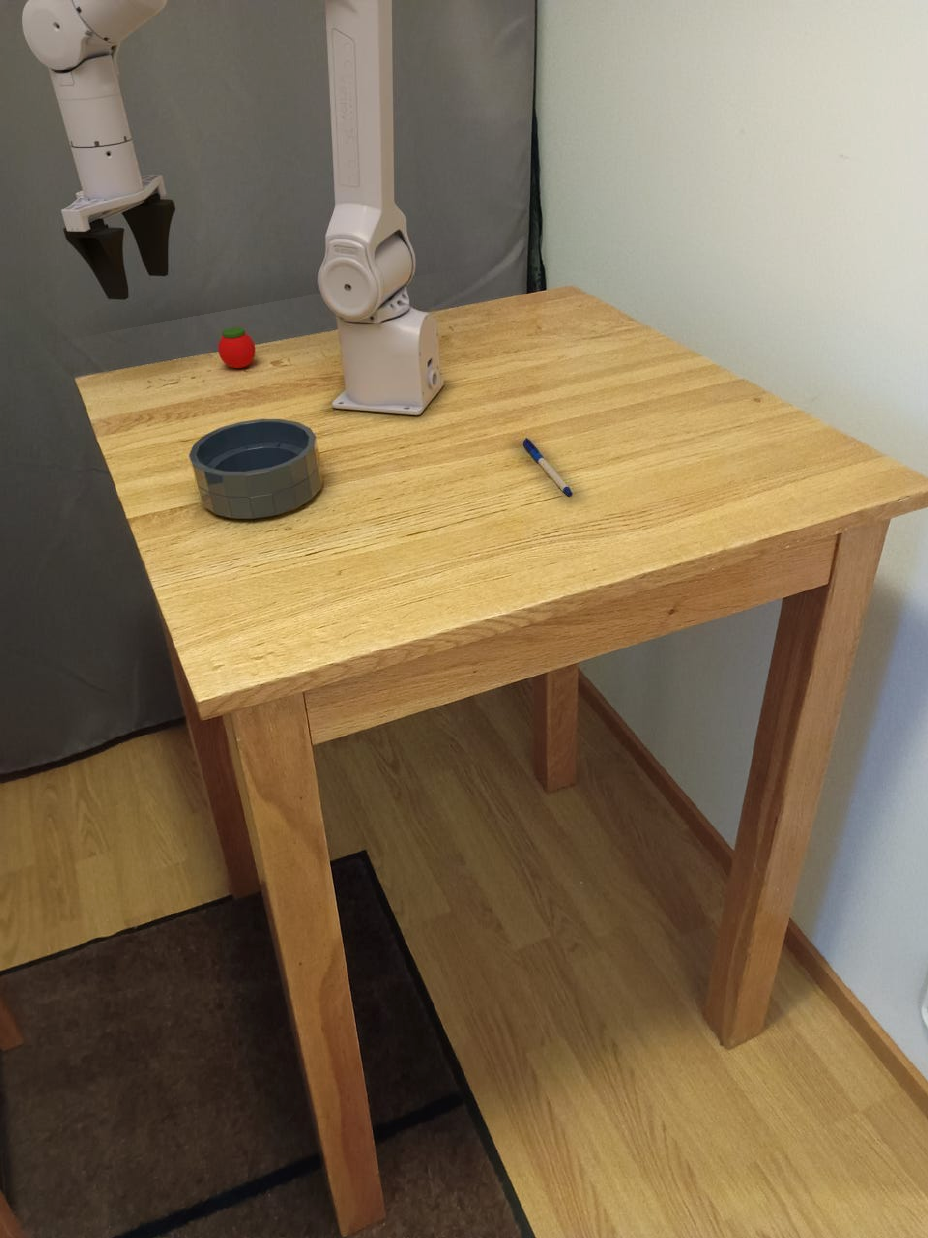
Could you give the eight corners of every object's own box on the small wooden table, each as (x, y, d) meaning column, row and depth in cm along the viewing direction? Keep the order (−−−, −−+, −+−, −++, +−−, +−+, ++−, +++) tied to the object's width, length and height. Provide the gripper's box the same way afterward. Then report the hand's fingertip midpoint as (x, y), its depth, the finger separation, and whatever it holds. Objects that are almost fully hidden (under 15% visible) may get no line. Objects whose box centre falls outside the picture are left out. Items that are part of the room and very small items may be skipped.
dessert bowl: (342, 469, 82) (335, 423, 80) (291, 530, 75) (281, 481, 72) (238, 459, 85) (228, 414, 83) (178, 517, 77) (165, 468, 75)
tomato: (264, 361, 105) (257, 325, 102) (248, 374, 102) (240, 338, 99) (233, 358, 106) (225, 323, 103) (215, 372, 103) (207, 336, 100)
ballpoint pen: (519, 446, 85) (519, 436, 84) (528, 444, 85) (528, 434, 84) (567, 499, 77) (567, 488, 76) (577, 496, 77) (577, 485, 76)
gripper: (109, 128, 95) (144, 264, 103) (17, 157, 84) (64, 307, 92) (169, 127, 93) (199, 266, 101) (82, 157, 82) (125, 310, 90)
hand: (139, 286), depth 97 cm, fingers open, 7 cm apart
